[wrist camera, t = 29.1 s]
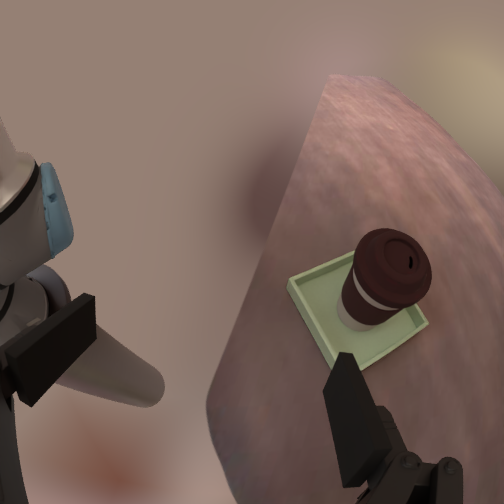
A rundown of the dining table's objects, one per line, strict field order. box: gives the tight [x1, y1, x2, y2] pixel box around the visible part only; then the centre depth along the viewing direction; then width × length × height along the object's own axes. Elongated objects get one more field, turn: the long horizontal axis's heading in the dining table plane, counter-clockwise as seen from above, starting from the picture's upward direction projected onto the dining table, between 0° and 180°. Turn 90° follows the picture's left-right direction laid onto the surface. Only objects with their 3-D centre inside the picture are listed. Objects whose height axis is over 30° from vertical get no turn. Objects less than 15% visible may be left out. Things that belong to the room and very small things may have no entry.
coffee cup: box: [337, 228, 432, 332], centre depth 35 cm, size 10×10×15 cm
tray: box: [286, 250, 429, 371], centre depth 40 cm, size 16×16×3 cm
